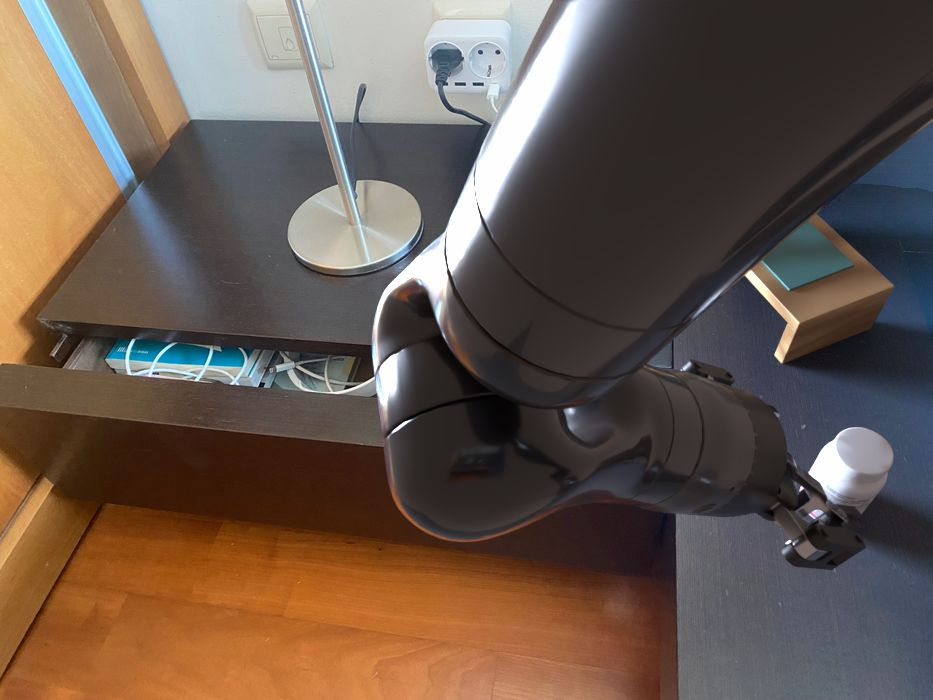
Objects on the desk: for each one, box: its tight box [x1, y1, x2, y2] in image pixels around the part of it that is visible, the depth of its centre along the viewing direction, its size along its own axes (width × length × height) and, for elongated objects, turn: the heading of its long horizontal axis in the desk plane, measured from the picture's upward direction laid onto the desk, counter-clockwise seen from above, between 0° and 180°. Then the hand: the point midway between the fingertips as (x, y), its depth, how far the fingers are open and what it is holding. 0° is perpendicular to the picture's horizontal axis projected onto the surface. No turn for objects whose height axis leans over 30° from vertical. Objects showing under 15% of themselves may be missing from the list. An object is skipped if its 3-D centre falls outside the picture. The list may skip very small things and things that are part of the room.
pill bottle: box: [799, 426, 895, 520], centre depth 55 cm, size 5×5×8 cm
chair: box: [744, 213, 895, 365], centre depth 67 cm, size 16×10×14 cm, turn 21°
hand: (804, 467), depth 50 cm, fingers open, 8 cm apart
